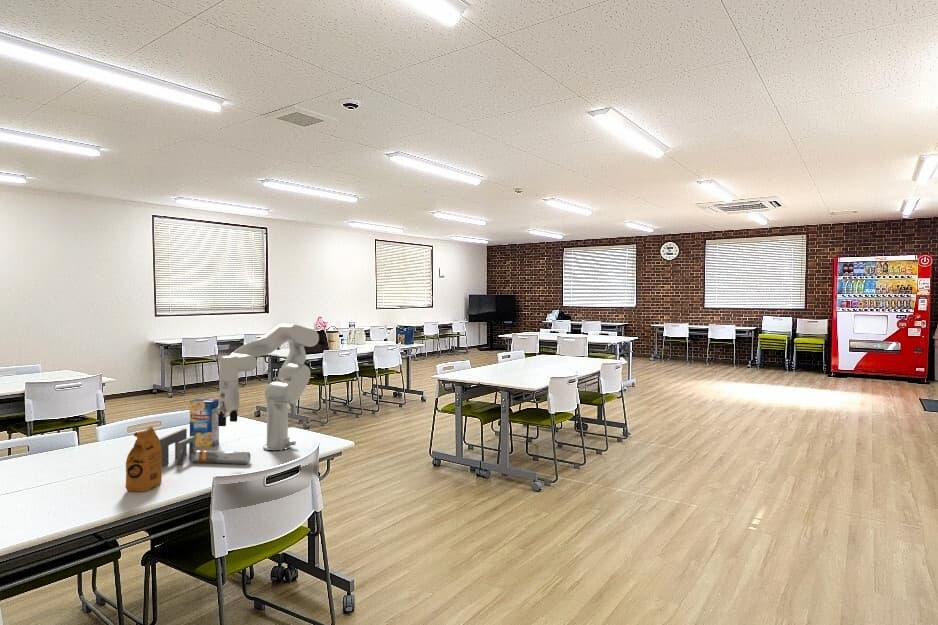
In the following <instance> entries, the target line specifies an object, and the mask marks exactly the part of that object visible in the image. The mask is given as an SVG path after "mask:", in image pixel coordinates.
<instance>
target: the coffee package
mask: <svg viewBox="0 0 938 625" xmlns="http://www.w3.org/2000/svg"><path fill="white" fill-rule="evenodd" d="M133 437H136V440H135V443H134V444H133V447H131V449H130V451H129V453H128V454H127V457H126V459H125V489H126V491H127V492H129V491H130V492H134V491H135V492H136V491H138V492H140V493H145V492H144V491H147V492H149V491H150V490H151V489H152V488H157V487H158V486H159V485H160V484H161V483H162V479H163V478H162V477H163V476H162V471H163V469H162V468H163V467H162V451H161V444H160V440H159V436H158V435H157V433H156V432H155V429H154V428H153V426H147V429H146V430H143V431H137V432H134V434H133ZM156 486H157V487H156ZM148 490H149V491H148ZM135 492H134V493H135ZM136 493H137V492H136Z"/></svg>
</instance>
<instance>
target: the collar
mask: <svg viewBox="0 0 938 625" xmlns="http://www.w3.org/2000/svg"><path fill="white" fill-rule="evenodd" d="M186 444H187V445H188V447H189V448H188V450H189V452H188V454H189V455H188V456H189V457H188V458H189V460H191V455H192V453H193V451H195V450H196V447H195V436H191V437H190V436H189V437H187V438H186V439H184V440H182V441H180V442H178V443H177V459H176V465H181V466H183V465H184V456H183V446H184V445H186Z"/></svg>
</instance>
